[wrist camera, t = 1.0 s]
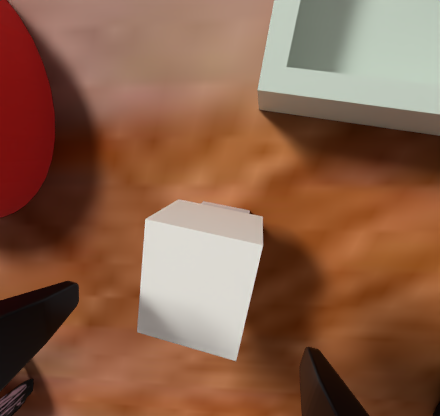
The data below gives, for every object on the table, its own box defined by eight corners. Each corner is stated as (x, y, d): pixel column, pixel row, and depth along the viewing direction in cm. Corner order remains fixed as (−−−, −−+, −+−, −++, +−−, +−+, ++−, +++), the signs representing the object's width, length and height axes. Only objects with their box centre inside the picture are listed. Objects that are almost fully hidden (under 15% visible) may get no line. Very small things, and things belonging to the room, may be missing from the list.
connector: (262, 202, 16) (263, 244, 9) (246, 275, 18) (236, 361, 11) (195, 189, 17) (145, 219, 10) (185, 261, 18) (137, 332, 11)
